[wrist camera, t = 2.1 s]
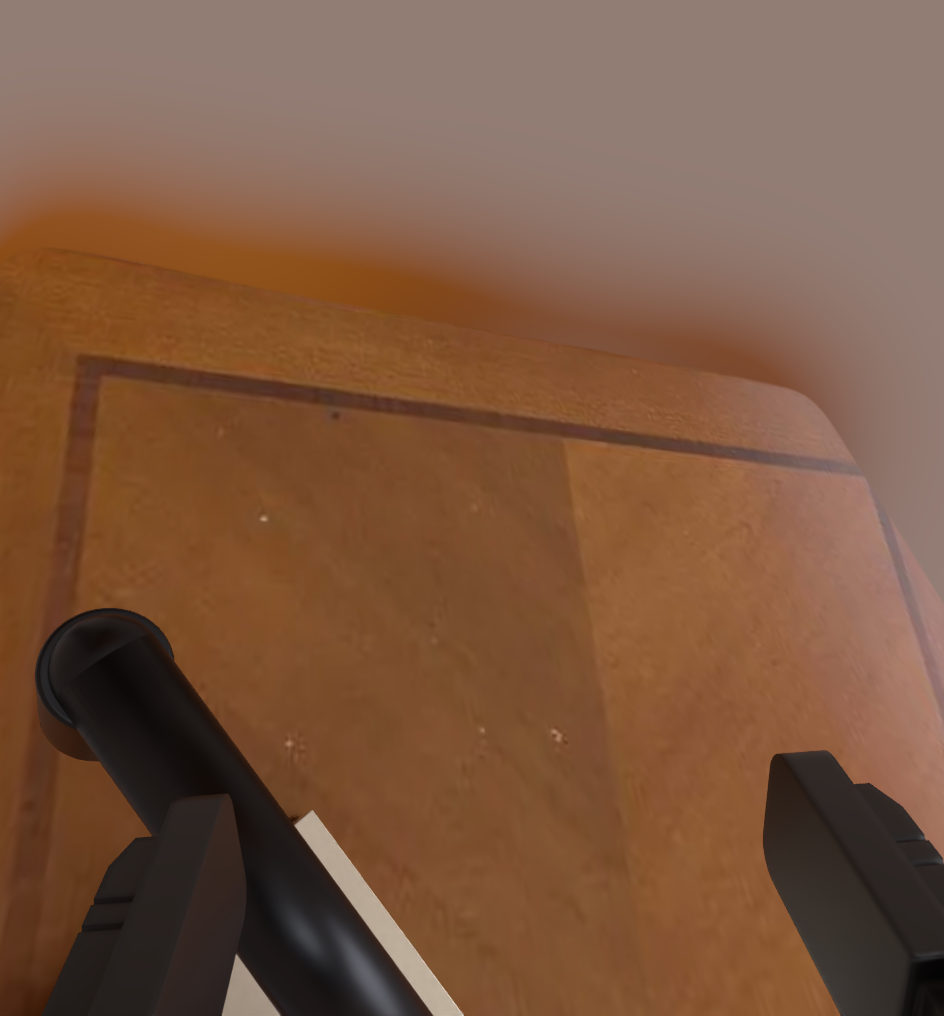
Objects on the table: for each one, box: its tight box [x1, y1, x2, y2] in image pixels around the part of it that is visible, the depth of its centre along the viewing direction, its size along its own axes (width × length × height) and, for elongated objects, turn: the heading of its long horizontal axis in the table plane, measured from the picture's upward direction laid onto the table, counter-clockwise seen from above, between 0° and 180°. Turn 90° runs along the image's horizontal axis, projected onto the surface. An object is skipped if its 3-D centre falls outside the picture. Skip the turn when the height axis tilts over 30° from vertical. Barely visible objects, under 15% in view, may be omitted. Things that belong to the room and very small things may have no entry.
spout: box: [35, 608, 433, 1016], centre depth 16 cm, size 16×4×5 cm, turn 42°
